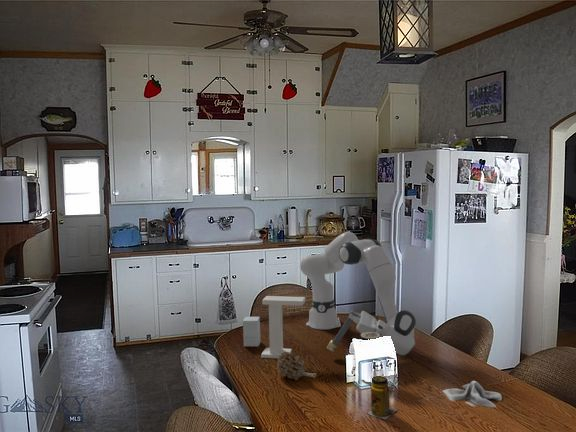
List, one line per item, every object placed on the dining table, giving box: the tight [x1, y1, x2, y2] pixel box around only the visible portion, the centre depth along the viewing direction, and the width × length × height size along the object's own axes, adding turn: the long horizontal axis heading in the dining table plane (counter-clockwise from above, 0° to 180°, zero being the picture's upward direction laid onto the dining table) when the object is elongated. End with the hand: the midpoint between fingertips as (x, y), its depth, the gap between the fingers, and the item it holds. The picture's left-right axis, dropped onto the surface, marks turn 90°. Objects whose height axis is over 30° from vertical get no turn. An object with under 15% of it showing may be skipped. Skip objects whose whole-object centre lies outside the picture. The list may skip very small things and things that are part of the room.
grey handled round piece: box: [276, 352, 318, 381], centre depth 199 cm, size 22×10×10 cm, turn 47°
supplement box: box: [242, 316, 262, 347], centre depth 243 cm, size 7×7×13 cm
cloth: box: [442, 380, 503, 408], centre depth 181 cm, size 22×19×6 cm
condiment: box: [366, 375, 398, 420], centre depth 171 cm, size 7×8×12 cm
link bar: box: [326, 310, 358, 353], centre depth 221 cm, size 4×20×3 cm
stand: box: [260, 295, 306, 359], centre depth 227 cm, size 9×19×26 cm, turn 78°
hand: (349, 313), depth 220 cm, fingers closed on link bar, 3 cm apart
